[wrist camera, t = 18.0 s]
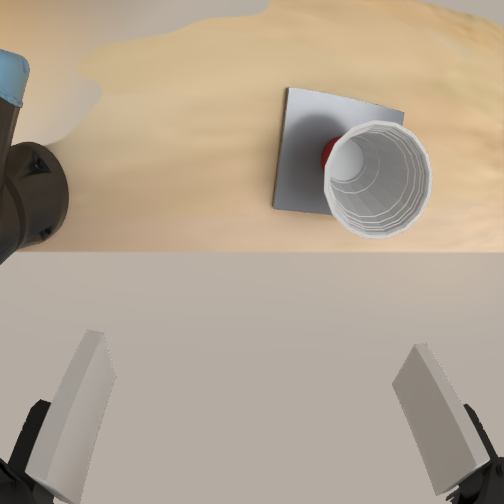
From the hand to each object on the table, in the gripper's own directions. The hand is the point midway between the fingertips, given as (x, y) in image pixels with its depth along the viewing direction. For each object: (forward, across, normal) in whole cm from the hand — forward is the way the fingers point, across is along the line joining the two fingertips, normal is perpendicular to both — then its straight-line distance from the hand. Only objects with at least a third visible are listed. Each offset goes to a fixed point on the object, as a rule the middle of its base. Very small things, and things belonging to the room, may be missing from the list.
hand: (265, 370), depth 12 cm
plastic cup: (+28, -11, -5) cm, 30 cm away
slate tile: (+29, -11, -5) cm, 31 cm away
